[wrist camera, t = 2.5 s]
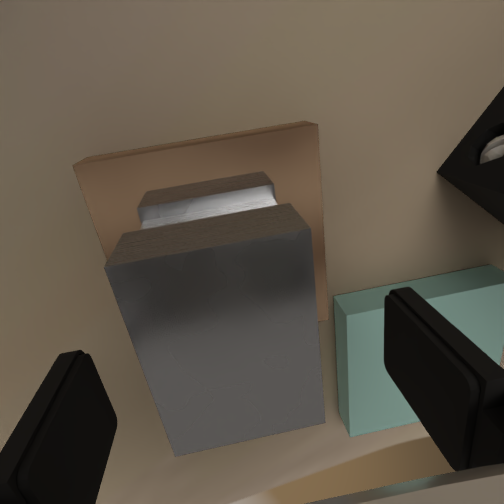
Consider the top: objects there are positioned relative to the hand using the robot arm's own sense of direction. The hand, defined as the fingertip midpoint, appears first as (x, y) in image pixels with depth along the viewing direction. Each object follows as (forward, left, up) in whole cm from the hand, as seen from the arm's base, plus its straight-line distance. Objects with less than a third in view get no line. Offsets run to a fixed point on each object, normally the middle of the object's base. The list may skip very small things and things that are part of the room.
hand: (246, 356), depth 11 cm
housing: (-1, 0, -6) cm, 6 cm away
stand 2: (+9, +11, -8) cm, 16 cm away
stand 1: (-1, 0, -8) cm, 8 cm away
